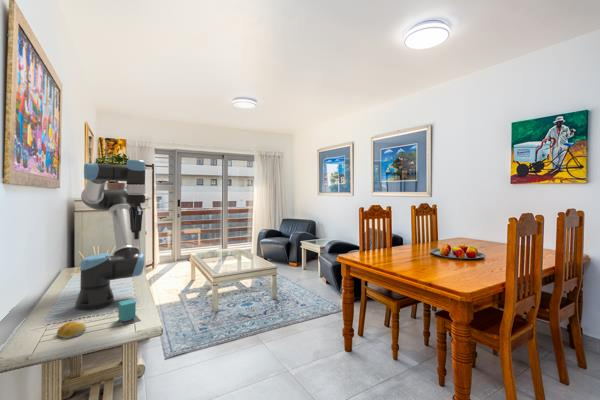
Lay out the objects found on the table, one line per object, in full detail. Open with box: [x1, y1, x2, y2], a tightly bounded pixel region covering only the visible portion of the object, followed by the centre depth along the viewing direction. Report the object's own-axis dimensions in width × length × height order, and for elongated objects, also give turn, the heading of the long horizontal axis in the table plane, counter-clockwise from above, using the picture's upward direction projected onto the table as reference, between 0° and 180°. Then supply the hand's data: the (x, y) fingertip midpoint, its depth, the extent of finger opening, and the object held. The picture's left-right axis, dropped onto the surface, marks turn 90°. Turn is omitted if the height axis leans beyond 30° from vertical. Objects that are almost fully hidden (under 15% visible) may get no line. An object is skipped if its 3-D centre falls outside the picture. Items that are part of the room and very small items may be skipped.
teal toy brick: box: [117, 298, 137, 323], centre depth 126 cm, size 5×5×7 cm
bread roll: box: [56, 321, 87, 339], centre depth 114 cm, size 8×9×4 cm
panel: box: [118, 315, 141, 326], centre depth 126 cm, size 7×6×1 cm
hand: (135, 246), depth 136 cm, fingers closed
